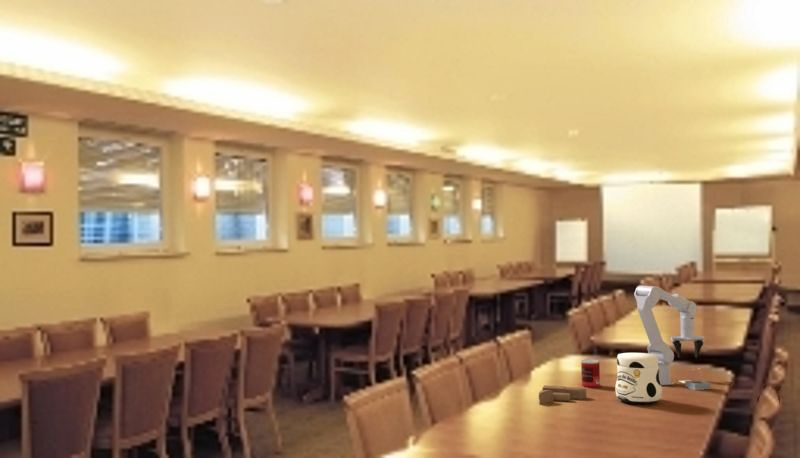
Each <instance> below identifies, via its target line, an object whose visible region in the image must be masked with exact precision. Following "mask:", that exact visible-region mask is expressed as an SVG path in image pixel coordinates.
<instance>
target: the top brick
mask: <svg viewBox="0 0 800 458" xmlns="http://www.w3.org/2000/svg"><path fill="white" fill-rule="evenodd" d="M687 371H688V374H689V380H691V382H700V381H704V380H705V378H704V373H703V368H702V367H698V368H696V367H695V368H691V369H688V370H687Z"/></svg>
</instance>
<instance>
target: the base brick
mask: <svg viewBox="0 0 800 458" xmlns="http://www.w3.org/2000/svg"><path fill="white" fill-rule="evenodd" d="M684 381H685V380H684ZM684 385H685V388H687V387H688V388H687V389H690V390H693V391H704V389H710V390H711V382H707V381H704V380H703V381H700V382H691V381H685V384H684Z"/></svg>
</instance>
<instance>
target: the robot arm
mask: <svg viewBox="0 0 800 458" xmlns="http://www.w3.org/2000/svg"><path fill="white" fill-rule="evenodd" d="M633 293H634V294H633V295H634V298H635V300H636V307H637V311H638V314H639V318H640V319H641V322H642V323H641V324H642V326H643V328H644V330H645V335H646V336H647V339H648V341H649V344H648V346H647V347H646V348H647V353H648V354H653V355H657V356H658V361H659V381H660V384H661V386H669V385H675V383H674V382H671V364H672V363H673V361H674V358H675V354H674V351H673V350H672V349H671V347H670V346H669V344H667V343H666V342H665V341H664V339H663V337H662V334H661V331H660V329H659V327H658V323H657V320H656V318H655V315H654V313H653V308H655V307H656V305H657V303H658V302H659V300H660V299H661V300H662V301H666V302H667V304H668V305H669V306H670V307H672V308H674V309H676V310H677V311H678V313H680V336H678V335H677V336H670V341H671V342H672V344H673V346H674V349H675V351H676V354H677V357H678V358H680V359H681V358H682V343H681V342H693V344H694V345H693V346H694V357H695V358H696V359H697V358H699V356H700V355H699V354H700V351H701V349H702V347H703V345H704V342H706V337H705V336H700V335H699V336H698V335H697V336H696V335H695V318H696V312H697V310H698V307H697V304H696V303H695V302H694V301H692V300H688V299H687V298H686V297H682V296H681V294H679V293H675V294H674V293H673V294H671V293H669V292H668V291H667V290H666V291H665V290H664V289H663V288H662V287H659V286H655V285H643V284H641V285H640V284H639V285H637V286H636V288H635V291H634V292H633Z"/></svg>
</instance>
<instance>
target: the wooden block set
mask: <svg viewBox="0 0 800 458" xmlns="http://www.w3.org/2000/svg"><path fill="white" fill-rule="evenodd" d="M586 399H587V387H574V386H563V385H543V387H542V389H541V390H540V391H539V392H538V400H539V403H538V404H539V405H547V404H552V403H554V402H556V401H557V402H570V401H571V400H586Z"/></svg>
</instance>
